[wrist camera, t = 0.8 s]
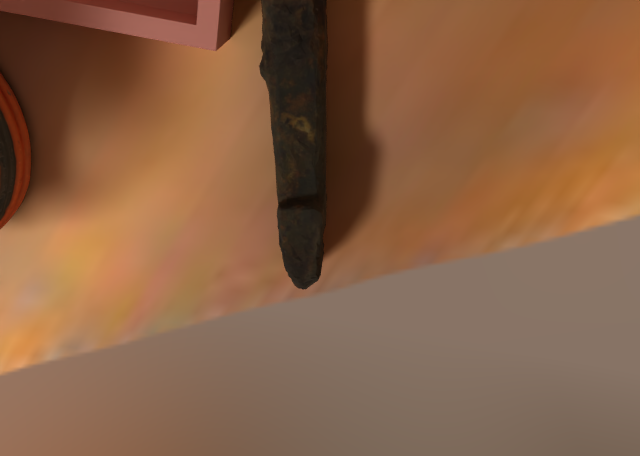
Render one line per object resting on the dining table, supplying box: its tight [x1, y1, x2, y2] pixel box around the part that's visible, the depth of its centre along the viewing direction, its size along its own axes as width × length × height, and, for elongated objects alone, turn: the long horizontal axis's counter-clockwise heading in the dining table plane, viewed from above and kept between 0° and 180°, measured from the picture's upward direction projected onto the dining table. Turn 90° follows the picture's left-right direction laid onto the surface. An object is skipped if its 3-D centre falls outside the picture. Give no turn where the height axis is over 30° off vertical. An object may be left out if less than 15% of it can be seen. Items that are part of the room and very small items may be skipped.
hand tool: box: [259, 0, 328, 289], centre depth 31 cm, size 19×4×5 cm, turn 179°
